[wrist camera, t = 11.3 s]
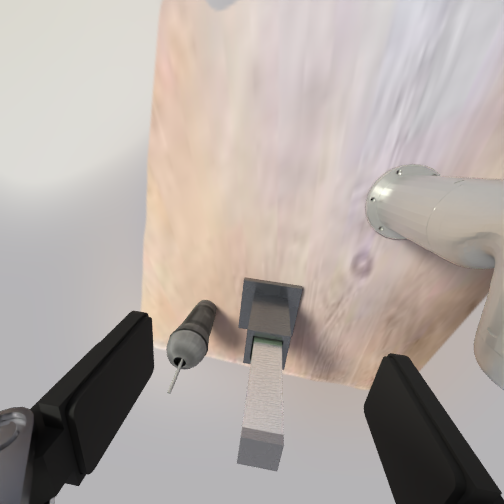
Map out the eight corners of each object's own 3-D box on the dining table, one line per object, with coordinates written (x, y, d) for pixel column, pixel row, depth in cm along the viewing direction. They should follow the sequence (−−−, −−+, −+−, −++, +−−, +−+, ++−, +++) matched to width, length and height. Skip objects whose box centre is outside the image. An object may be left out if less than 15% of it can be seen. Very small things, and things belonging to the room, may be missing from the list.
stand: (301, 286, 48) (309, 326, 36) (291, 332, 52) (295, 383, 40) (244, 277, 49) (233, 314, 37) (239, 324, 53) (227, 371, 41)
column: (281, 320, 43) (284, 445, 24) (277, 339, 44) (277, 471, 25) (257, 316, 43) (240, 436, 24) (254, 336, 45) (236, 463, 25)
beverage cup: (219, 294, 51) (186, 367, 32) (224, 322, 53) (195, 405, 35) (188, 295, 52) (137, 367, 33) (194, 322, 54) (149, 404, 36)
